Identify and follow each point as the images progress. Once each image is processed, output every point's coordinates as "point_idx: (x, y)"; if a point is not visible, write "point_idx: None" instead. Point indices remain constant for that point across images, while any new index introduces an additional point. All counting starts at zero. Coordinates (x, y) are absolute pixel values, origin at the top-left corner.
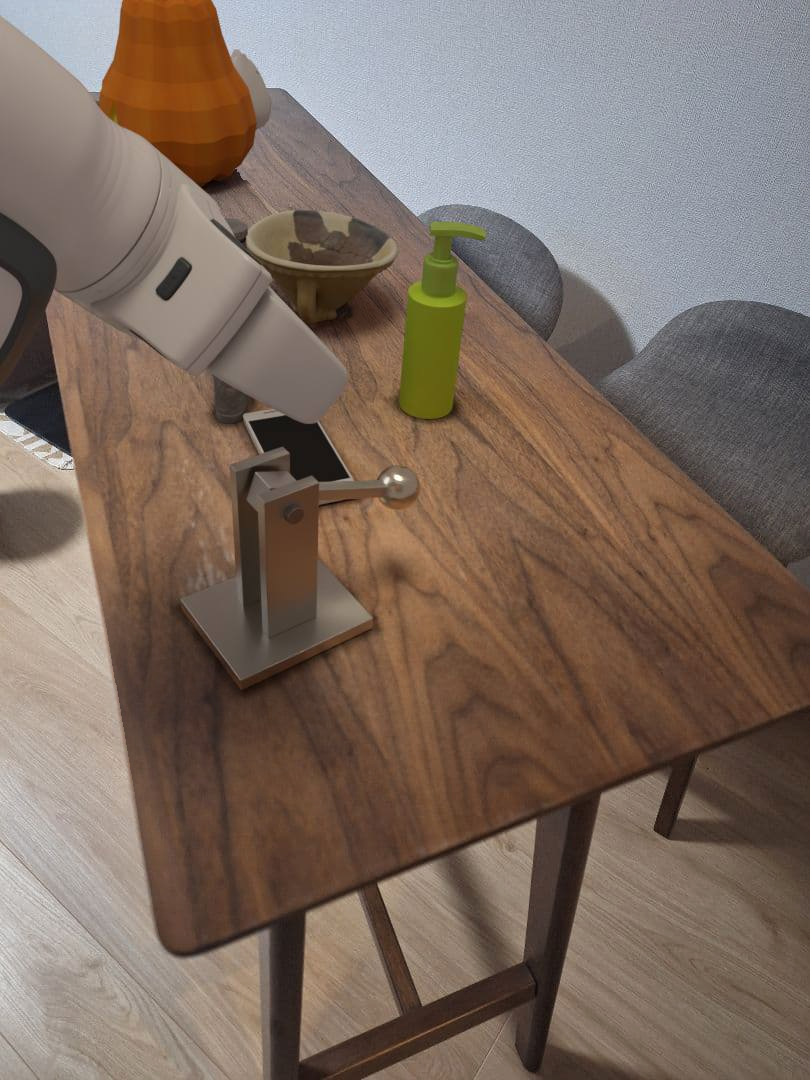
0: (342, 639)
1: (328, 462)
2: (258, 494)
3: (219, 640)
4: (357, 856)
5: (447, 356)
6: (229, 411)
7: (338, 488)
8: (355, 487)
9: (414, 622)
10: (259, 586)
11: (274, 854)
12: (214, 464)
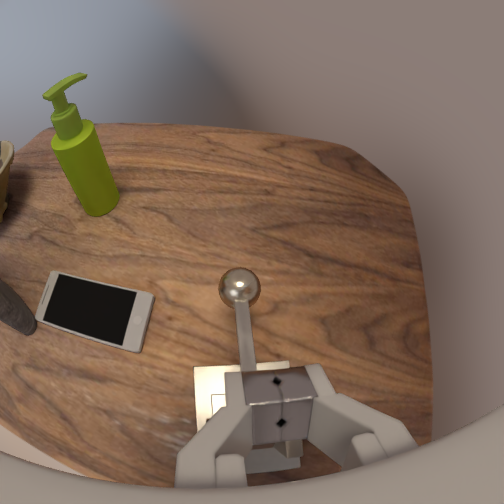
0: None
1: (112, 296)
2: (259, 445)
3: (257, 468)
4: (423, 433)
5: (103, 164)
6: (29, 326)
7: (253, 352)
8: (251, 332)
9: (294, 332)
10: None
11: None
12: (64, 368)
